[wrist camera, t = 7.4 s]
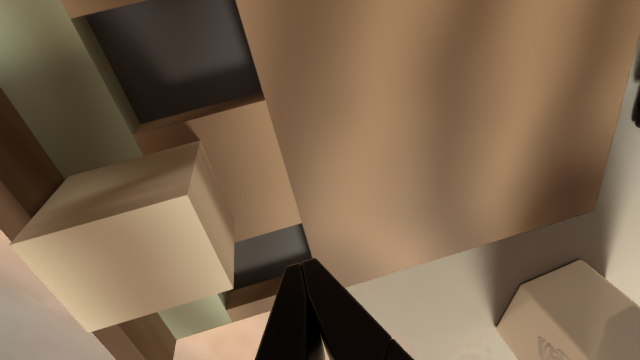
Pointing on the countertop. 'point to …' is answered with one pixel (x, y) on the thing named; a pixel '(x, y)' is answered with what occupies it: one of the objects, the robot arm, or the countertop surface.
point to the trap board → (319, 124)
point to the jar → (571, 318)
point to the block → (133, 238)
